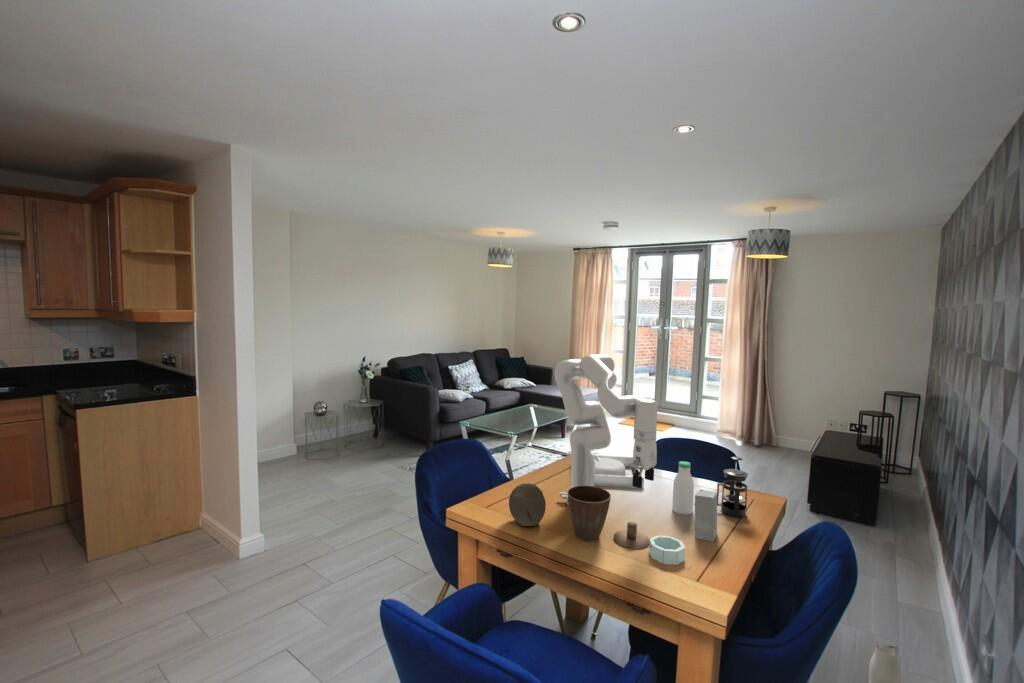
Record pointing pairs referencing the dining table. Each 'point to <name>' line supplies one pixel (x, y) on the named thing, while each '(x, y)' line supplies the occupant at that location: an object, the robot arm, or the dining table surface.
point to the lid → (631, 537)
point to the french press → (733, 493)
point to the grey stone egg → (527, 504)
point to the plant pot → (588, 510)
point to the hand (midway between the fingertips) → (643, 483)
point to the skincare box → (706, 515)
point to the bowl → (667, 550)
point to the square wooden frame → (616, 480)
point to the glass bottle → (884, 665)
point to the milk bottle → (683, 490)
